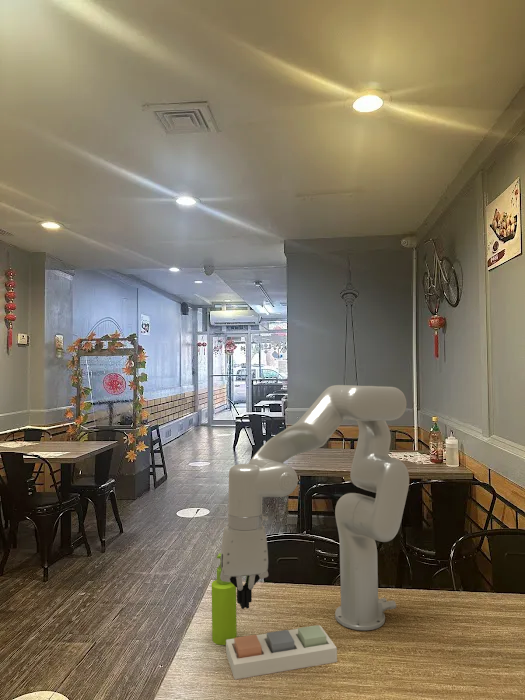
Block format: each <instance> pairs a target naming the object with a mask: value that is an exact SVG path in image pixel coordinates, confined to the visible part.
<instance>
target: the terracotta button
mask: <svg viewBox="0 0 525 700" xmlns="http://www.w3.org/2000/svg"><path fill="white" fill-rule="evenodd" d="M256 635H257V634H250V635H243V636H238V637H236V638H234V647H235V650H236V653H237V655H238V658H245V657H251V656H257V655H262V654H261V644H260V642H259V640H258V638H257V636H256Z"/></svg>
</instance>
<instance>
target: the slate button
mask: <svg viewBox="0 0 525 700" xmlns="http://www.w3.org/2000/svg"><path fill="white" fill-rule="evenodd" d="M288 630H289V629H284V630H276V631H271V632H267V633H266V634H267V643H268V645H269V647H270V650H271V652H272V653H276V652H282V651H288V650H294V640H293V638H292V636H291V635H290V633H289V631H288Z"/></svg>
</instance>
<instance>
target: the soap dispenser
mask: <svg viewBox="0 0 525 700" xmlns="http://www.w3.org/2000/svg"><path fill="white" fill-rule="evenodd" d="M216 559H219V566H217V568H216V579H215V580H213V581H212V582H211V638H212V639H211V640H212V643H214V644H215V645H218V646H226V640H227V639H234V638H236V637H237V636H238V635H237V630H238V628H237V627H238V626H237V588H236V587H235V586H234V585H233V584H232V583H231V582H225V581H222V580H221V578H220V575H221V571H222V569H221V552H219V553H218V554H217V556H216Z"/></svg>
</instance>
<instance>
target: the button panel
mask: <svg viewBox="0 0 525 700" xmlns="http://www.w3.org/2000/svg"><path fill="white" fill-rule="evenodd" d="M319 627H320V628H321V630H322V631H323V632H324V634H325V635H326V644H325V645H319V646H313V647H306V648H305V647H304V646H303V644H302V643H301V641H300V639H299V638H298V628H295V629H287V630H288V631H289V633H290V635H291V636H292V638H293V640H294V650H288V651H282V652H276V653H272V652H271V650H270V647H269V645H268V643H267V633H262V634H255V635H256V636H257V638H258V640H259V642H260V644H261V654H262V655H257V656H251V657H245V658H238V655H237V653H236V650H235V647H234V639H227V640H226V645H225V654H226V657H227V661H228V663H229V667H230V670H231V673H232V676H233V679H234V680H241V679H246V678H251V677H257V676H263V675H268V674H269V675H270V674H274V673H280V672H286V671H292V670H298V669H303V668H310V667H316V666H320V665H321V666H322V665H326V664H327V665H328V664H333V663H337V662H338V648H337V646H336V645H335V643H334V642H333V640H332V638H330V636H329V635H328V634H327V632H326V631H325V629H324V628H323V627H322V626H321V625H319Z"/></svg>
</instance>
